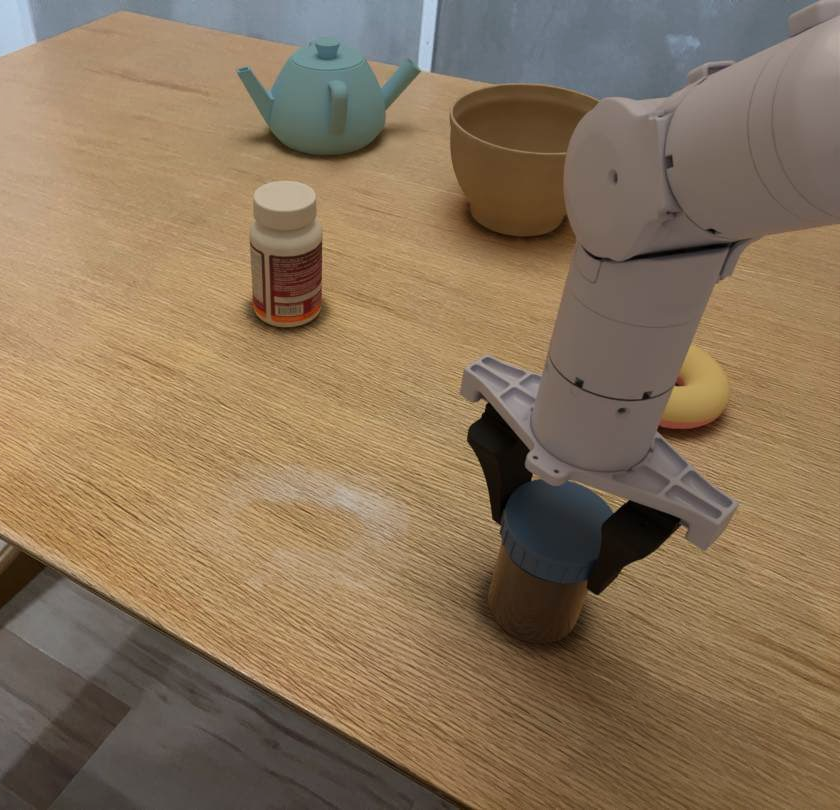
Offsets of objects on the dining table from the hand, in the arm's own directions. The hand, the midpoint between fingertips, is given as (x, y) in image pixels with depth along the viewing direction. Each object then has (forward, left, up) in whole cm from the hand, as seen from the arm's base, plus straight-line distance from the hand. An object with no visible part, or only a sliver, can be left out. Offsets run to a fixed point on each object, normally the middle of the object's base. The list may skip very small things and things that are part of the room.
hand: (551, 546), depth 47 cm
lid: (0, 0, +2) cm, 2 cm away
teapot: (+69, -5, -6) cm, 69 cm away
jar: (0, 0, -6) cm, 6 cm away
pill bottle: (+34, +8, -6) cm, 35 cm away
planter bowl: (+45, -19, -6) cm, 49 cm away
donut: (+16, -18, -6) cm, 25 cm away
